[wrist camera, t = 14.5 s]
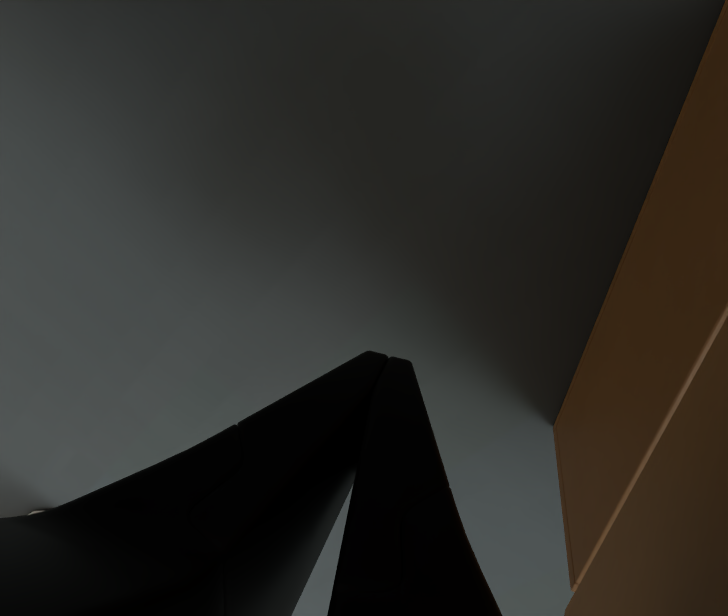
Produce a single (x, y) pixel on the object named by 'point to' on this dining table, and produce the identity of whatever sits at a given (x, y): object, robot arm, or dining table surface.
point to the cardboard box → (650, 318)
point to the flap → (672, 515)
